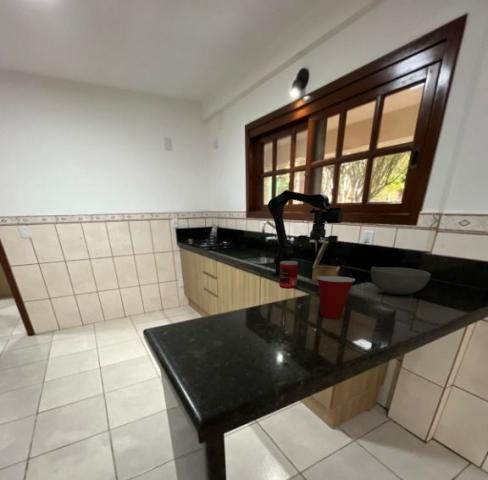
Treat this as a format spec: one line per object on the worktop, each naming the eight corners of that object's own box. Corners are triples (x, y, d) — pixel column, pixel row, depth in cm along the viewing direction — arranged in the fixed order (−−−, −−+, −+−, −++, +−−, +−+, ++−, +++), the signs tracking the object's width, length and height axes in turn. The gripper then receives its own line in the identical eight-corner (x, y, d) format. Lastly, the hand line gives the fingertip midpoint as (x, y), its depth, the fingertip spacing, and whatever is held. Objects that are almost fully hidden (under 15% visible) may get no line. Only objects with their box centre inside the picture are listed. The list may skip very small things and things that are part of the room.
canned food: (295, 285, 121) (297, 260, 117) (297, 289, 114) (298, 263, 110) (278, 284, 122) (279, 260, 118) (279, 288, 114) (280, 263, 111)
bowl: (414, 304, 92) (421, 275, 88) (358, 293, 106) (362, 268, 103) (432, 294, 104) (438, 269, 101) (379, 286, 119) (384, 263, 115)
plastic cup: (349, 312, 84) (354, 274, 80) (350, 323, 74) (356, 281, 70) (314, 308, 87) (318, 272, 83) (311, 319, 78) (315, 278, 73)
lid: (328, 242, 133) (327, 241, 134) (324, 243, 123) (323, 242, 123) (318, 264, 139) (316, 264, 139) (313, 268, 129) (312, 267, 129)
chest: (338, 277, 137) (340, 266, 135) (336, 282, 126) (337, 270, 124) (316, 276, 142) (317, 265, 140) (311, 280, 131) (312, 268, 129)
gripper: (295, 223, 124) (293, 257, 129) (337, 223, 116) (333, 259, 122) (301, 223, 133) (299, 255, 139) (339, 223, 126) (335, 256, 131)
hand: (315, 256), depth 132 cm, fingers closed
